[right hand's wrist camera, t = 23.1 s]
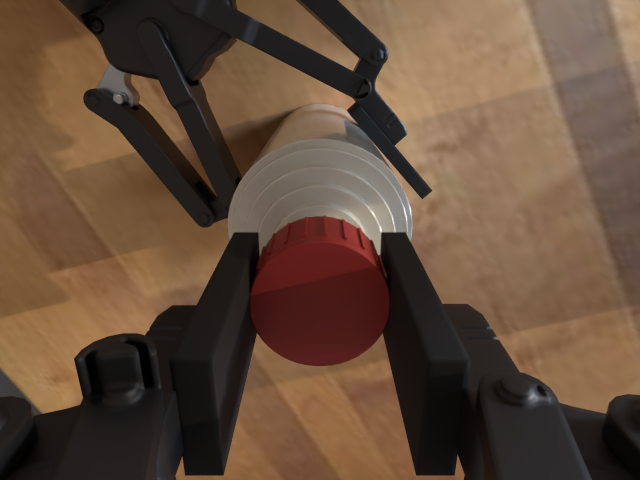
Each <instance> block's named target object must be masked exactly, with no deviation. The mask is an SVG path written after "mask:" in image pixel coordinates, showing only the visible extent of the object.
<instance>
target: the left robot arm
mask: <svg viewBox="0 0 640 480" xmlns="http://www.w3.org/2000/svg"><path fill="white" fill-rule="evenodd" d="M60 1H61V2H62V3H63V4H64V5H65V6H66V7H67V8H68V9H69V10H70V11H71V12H72V13H73V14H74V15H75V16H76V17H77V18H78V19H79V21H80V22H81V23H82V24H83V25H85V26H86V27H87V28H88V29H89V30H90V31H91V32H92V33H93V34H94V35H95V36H96V38H97V39H98V40H99V42H100V44H101V46H102V48H103V50H104V53H105V56H106V58H107V60H108V61H109V65H108V67H107V69H106V71H105V73H104V75H103V77H102V79H101V81H100V82H99V84H98V86H97V88H96V89H90V90H87V91H86V92H85V94H84V97H83V99H84V103H85V105H86V107H87V108H88V109H89V110H91V111H92V112H94V113H95V114H97V115H99V116H100V117H102V118H103V119H105V120H106V121H108V122H109V123H111V124H112V125H114V126H115V127H117V128H118V129H119V130H120V132H121V133H122V134H123V135H124V136H125V138H126V139H127V140H128V141H129V142H130V144H131V145H132V146H133V147H134V149H135V150H136V151H137V152H138V153H139V155H140V156H141V157H142V158H143V159H144V161H145V162H146V163H147V164H148V165H149V167H150V168H151V169H152V170H153V171H154V173H155V174H156V175H157V176H158V177H159V179H160V180H161V181H162V182H163V183H164V185H165V186H166V187H167V188H168V189H169V191H170V192H171V193H172V194H173V195H174V197H175V198H176V199H177V200H178V201H179V203H180V204H181V205H182V206H183V207H184V209H185V210H186V211H187V212H188V214H189V215H190V216H191V217H192V218H193V220H194V221H195V222H196V223H197V224H198V225H199V226H201V227H209V226H211V225H212V224H213V223H215V222H217V221H220V220H222V219H225V218H228V214H229V208H230V204H231V201H232V198H233V195H234V193H235V191H236V189H237V187H238V185H239V183H240V181H241V180H242V177H241V175H240V173H239V171H238V168H237V166H236V164H235V162H234V160H233V157H232V155H231V153H230V151H229V148H228V146H227V144H226V142H225V140H224V137H223V135H222V133H221V131H220V128H219V126H218V124H217V122H216V120H215V117H214V115H213V113H212V111H211V109H210V106H209V104H208V102H207V99H206V93H205V91H204V88H203V86H202V84H201V81H200V79H201V78H202V77H203V76H204V75H205V74H206V73H207V72H208V71H209V69H210V67H211V65H212V63H213V61H214V60H215V58H216V57H217V56H219V55H221V54H222V53H224V52H226V51H228V50H229V48H230V47H231V46H232V45H233V44H234V43H235V42H236V41H237V40H236V38H237V39H239V40H241V41H243V42H245V43H248V44H250V45H252V46H254V47H255V48H257V49H259V50H261V51H263V52H265V53H267V54H269V55H271V56H273V57H275V58H277V59H279V60H281V61H283V62H284V63H286V64H288V65H290V66H292V67H294V68H296V69H298V70H300V71H302V72H304V73H306V74H308V75H310V76H312V77H314V78H315V79H317V80H319V81H321V82H323V83H325V84H327V85H329V86H331V87H333V88H335V89H337V90H339V91H341V92H343V93H344V94H346V95H348V96H350V97H352V98H353V99H354V100H355V103H354V104H353V105H352V106H351V107H350V108H349V109H348V110H347V111H348V113H349V115H350V116H351V117H352V118H353V119H354V120H355V122H356V123H357V124H358V125H359V126H360V127H361V129H362V130H363V131H364V132H365V133H366V134H367V135H368V137H369V138H370V139H371V140H372V141H373V142H374V144H375V145H376V146H377V147H378V148H379V149H380V151H381V152H382V153H383V154H384V155H385V156H386V158H387V159H388V160H389V161H390V162H391V163H392V165H393V166H394V167H395V168H396V169H397V170H398V171H399V173H400V174H401V175H402V176H403V177H404V178H405V180H406V181H407V182H408V183H409V184H410V185H411V187H412V188H413V189H414V190H415V191H416V192H417V194H418V195H419V196H420V197H421V198H422V199H423V198H424V197H425V196H427V195H428V194H429V193H430V192H431V191H432V190H431V188H430V187H429V186H428V185H427V184H426V182H425V181H424V180H423V179H422V178H421V177H420V175H419V174H418V173H417V172H416V171H415V170H414V168H413V167H412V166H411V165H410V164H409V162H408V161H407V160H406V159H405V158H404V157H403V155H402V154H401V153H400V152H399V151H398V149H397V148H396V147H395V145H396V144H397V143H398V142H399V141H400V140H401V139H403V138H404V137H405V136H406V135H407V132H406V129H405V125H404V124H403V123H402V122H401V121H400V119H399V118H398V117H397V116H396V115H395V113H394V112H393V111H392V110H391V108H390V107H389V106H388V105H387V104H386V102H385V101H384V100H383V99H382V98H381V96H380V95H379V94H378V92H377V91H376V88H375V80H376V78H377V75H378V74H379V72H380V70H381V68H382V66H383V64H384V63H385V62H386V60H387V59H388V49H387V48H386V46H385V45H384V44H383V43H382V42H381V41H380V40H379V39H378V38H377V37H376V36H375V35H374V34H373V33H371V32H370V31H369V30H368V29H367V28H366V27H365V26H364V25H363V24H362V23H361V22H360V21H359V20H358V19H357V18H356V17H355V16H353V15H352V14H351V13H350V12H349V11H348V10H347V9H346V8H345V7H344V6H343V5H342V4H341V3H340V2H339V1H338V0H296V1H297V2H298V3H299V4H301V5H302V6H303V7H304V8H305V9H306V10H307V11H308V12H309V13H310V14H311V15H313V16H314V17H315V18H316V19H317V20H318V21H319V22H320V23H321V24H322V25H323V26H324V27H326V28H327V29H328V30H329V31H330V32H331V33H332V34H333V35H334V36H335V37H336V38H338V39H339V40H340V41H341V42H342V43H343V44H344V45H345V46H346V47H347V48H348V49H349V50H351V51H352V52H353V53H354V54H355V55H356V56H357V57H358V58H359V61H358V63H357V64H356V66H355V68H354V70H353V71H351V70H349V69H347V68H345V67H344V66H342V65H340V64H338V63H336V62H334V61H332V60H330V59H328V58H326V57H325V56H323V55H321V54H319V53H317V52H315V51H313V50H311V49H309V48H307V47H306V46H304V45H302V44H300V43H298V42H296V41H294V40H292V39H290V38H289V37H287V36H285V35H283V34H281V33H279V32H277V31H275V30H273V29H271V28H270V27H268V26H266V25H264V24H262V23H260V22H258V21H256V20H255V19H253V18H251V17H249V16H247V15H245V14H243V13H242V12H240V11H238V10H237V6H236V0H60ZM132 74H133V75H138V76H143V77H147V78H152V79H157V80H159V81H160V84H161V86H162V88H163V90H164V92H165V94H166V96H167V98H168V100H169V102H170V104H171V105H172V107H174V108H175V109H176V111H177V113H178V115H179V117H180V119H181V121H182V123H183V125H184V127H185V129H186V131H187V133H188V136H189V138H190V140H191V142H192V144H193V146H194V148H195V150H196V152H197V154H198V157H199V159H200V161H201V163H202V165H203V167H204V169H205V171H206V173H207V175H208V177H209V180H210V182H211V184H212V186H213V188H214V190H215V192H216V194H217V197H216V195H215V194H214V193H213V191H212V190H211V189H210V188H209V186H208V185H207V184H206V183H205V181H204V180H203V179H202V178H201V176H200V175H199V174H198V173H197V171H196V170H195V169H194V168H193V166H192V165H191V164H190V163H189V161H188V160H187V159H186V158H185V156H184V155H183V154H182V153H181V151H180V150H179V149H178V148H177V146H176V145H175V144H174V143H173V141H172V140H171V139H170V137H169V136H168V135H167V134H166V132H165V131H164V130H163V129H162V127H161V126H160V125H159V124H158V122H157V121H156V120H155V119H154V117H153V116H152V115H151V114H150V113H149V112H148V111H147V110H146V109H145V108H144V107H143V106H142V105H140V104H139V101H140V96H139V93H138V91H137V90H136V89H135V88H134V87H133V85H132V84H131V75H132Z"/></svg>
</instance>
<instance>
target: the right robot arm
mask: <svg viewBox="0 0 640 480" xmlns="http://www.w3.org/2000/svg"><path fill="white" fill-rule="evenodd" d="M380 255H381V258H382V262H383V265H384V268H385V271H386V274H387V277H388V279H387V280H386V281H387V285H388V288H389V293H390V304H389V318H388V322H387V324H386V327H385V329H384V331H383V336H384V340H385V344H386V349H387V353H388V357H389V361H390V366H391V370H392V374H393V378H394V383H395V387H396V391H397V396H398V400H399V404H400V408H401V413H402V417H403V421H404V425H405V430H406V434H407V438H408V443H409V447H410V451H411V455H412V460H413V464H414V468H415V472H416V475H455V468H456V461H457V454H458V457H459V459H460V462H461V465H462V468H463V471H464V473H465V477H464V480H640V395H631V394H627V395H622V396H617V397H615V398H614V399H613V400H612V401H611V402H610V403H609V406H608V410H607V413H606V414H604V413H600V412H595V411H590V410H586V409H581V408H576V407H572V406H568V405H565V404H561V403H559V401H558V399H557V397H556V396H555V394H554V393H553V392H552V390H551V389H550V388H549V387H548V386H547V385H545V384H544V383H543V382H541V381H540V380H539V379H536V378H534V377H532V376H530V375H527V374H525V373H521V372H519V370H518V369H517V367H516V365H515V364H514V362H513V361H512V359H511V358H510V356H509V355H508V353H507V352H506V350H505V349H504V347H503V345H502V344H501V342H500V341H499V340H497V336H496V335H495V333H494V332H493V330H492V329H490V326H489V324H488V322H487V321H486V319H485V318H484V316H483V315H482V314H481V313H479V312H478V311H477V310H475V309H474V308H472V307H471V306H469V305H468V304H442V303H441V301H440V299H439V297H438V295H437V293H436V291H435V289H434V287H433V285H432V283H431V281H430V279H429V277H428V275H427V273H426V271H425V269H424V267H423V265H422V263H421V261H420V260H419V258H418V256H417V254H416V252H415V250H414V248H413V246H412V244H411V242H410V240H409V238H408V236H407V234H406V232H381V247H380ZM259 257H260V253H259V233H258V232H234V233H233V235H232V237H231V239H230V241H229V243H228V245H227V247H226V249H225V251H224V253H223V255H222V257H221V259H220V261H219V263H218V265H217V267H216V269H215V271H214V273H213V275H212V276H211V278H210V280H209V282H208V284H207V286H206V288H205V290H204V292H203V294H202V296H201V298H200V300H199V302H198V304H197V305H173V306H171V307H170V308H168V309H167V310H165V311H164V312H163V313H161V314H160V315H158V316H157V318H156V319H155V321H154V322H153V324H152V325H151V327H150V330H149V331H148V332H147V333H146V335H145V336H144V335H141V334H118V335H113V336H108V337H106V338H103V339H100V340H98V341H95V342H93V343H91V344H90V345H88V346H87V347H85V348H84V349H82V350H81V351H80V352H79V354H78V355H77V356H76V357H75V358H74V361H75V365H76V369H77V373H78V378H79V382H80V386H81V391H82V395H83V400H82V402H81V405H78V406H75V407H71V408H68V409H63V410H59V411H54V412H50V413H45V414H40V415H36V416H34V415H33V411H32V407H31V405H30V404H29V403H28V402H27V401H26V400H25V399H23V398H18V397H13V396H10V397H0V480H176V477H175V475H176V472H177V469H178V466H179V464H180V461H181V458H182V456H183V463H184V470H185V475H224V471H225V467H226V463H227V458H228V454H229V450H230V445H231V441H232V437H233V433H234V428H235V424H236V420H237V416H238V411H239V407H240V403H241V399H242V394H243V390H244V386H245V381H246V377H247V373H248V369H249V364H250V360H251V356H252V352H253V347H254V343H255V339H256V334H257V331H256V329H255V327H254V325H253V322H252V319H251V309H250V291H251V287H252V282H253V279H254V276H255V273H256V267H257V264H258V261H259Z"/></svg>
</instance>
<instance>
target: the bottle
mask: <svg viewBox="0 0 640 480" xmlns="http://www.w3.org/2000/svg"><path fill="white" fill-rule="evenodd" d="M324 215H326V217H333V218H337V219H341V220H342V219H344V220H345V221H346V222H348V223H350V224H352V225H354V226H356V227H357V228H361V231H362V232H363V233H364V234H365V235H366V236H367V237H368V238H369V239H370V240H373V242H374V246H375V248H376V250H377V253H378V255H380V247H381V232H406V234H407V236H408V238H409V240H410V242H411V237H412V214H411V209H410V205H409V201H408V198H407V196H406V193H405V191H404V189H403V187H402V185H401V183H400V181H399V180H398V178H397V177H396V175H395V174H394V172H393V171H392V170H391V168H390V167H389V165H388V164H387V162H386V161H385V159H384V158H383V156H382V155H381V153H380V152H379V151H378V149H377V148H376V146H375V145H374V143H373V142H372V140H371V139H370V138H369V137H368V135H367V134H366V133H365V132H364V131H363V130H362V129H361V127H360V126H359V125H358V124H357V123H356V122H355V120H354V119H353V118H352V117H351V116H350V115H349V113H348V112H347V111H345V110H343V109H342V108H339V107H337V106H333V105H330V104H311V105H307V106H303V107H301V108H299V109H296V110H295V111H293V112H292V113H290V114H289V115H288V116H287V117H285V118H284V120H283V121H282V122H281V123H280V124H279V126H278V127H277V129H276V130H275V132H274V133H273V135H272V136H271V137H270V139H269V140H268V142H267V143H266V145H265V146H264V148H263V149H262V151H261V152H260V154H259V155H258V156H257V158H256V159H255V161H254V162H253V164H252V165H251V167H250V168H249V170H248V171H247V173H246V174H245V175H244V177H243V178H242V180H241V181H240V183H239V185H238V187H237V189H236V191H235V193H234V195H233V198H232V201H231V204H230V208H229V214H228V227H227V229H228V239H229V241H230V239H231V237H232V235H233V233H234V232H258V233H259V253H260V254H261V251H262V248H263V246H264V247H265V246H266V245H267V243H268V241H269V240H270V239H271V238H272V235H273V233H277V232H278V231H279V230H280V229H282V228H283V227H284V226H286V225H287V223H289V222H290V223H291V222H294V221H296V220H299V219H303V218H305V217H314V216H324Z"/></svg>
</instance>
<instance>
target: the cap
mask: <svg viewBox="0 0 640 480" xmlns="http://www.w3.org/2000/svg"><path fill="white" fill-rule="evenodd" d="M387 279H388V277H387V274H386V271H385V268H384V265H383V262H382V258H381V255H378V253H377V250H376V248H375V246H374V242H373V240H370V239H369V238H368V237H367V236H366V235H365V234H364V233H363V232H362V231H361V228H357V227H356V226H354V225H352V224H350V223H348V222H346V221H345V220H344V219H342V220H341V219H337V218H333V217H326V215H324V216H314V217H305V218H303V219H299V220H296V221H294V222H291V223H290V222H289V223H287V225H286V226H284V227H283V228H282V229H280V230H279V231H278V232H277V233H273V235H272V238H271V239H270V240H269V241H268V243H267V245H266V246H265V247H264V246H263V248H262V251H261V254H260V257H259V261H258V264H257V267H256V273H255V276H254V279H253V282H252V287H251V291H250V309H251V319H252V322H253V325H254V327H255V329H256V331H257V333H258V334H259V336H260V337H261V339H262V340H263V341H264V342H265V343H266V344H267V345H268V347H270V348H271V349H272V350H273V351H274V352H276V353H278V354H279V355H281V356H282V357H284V358H286V359H288V360H291V361H294V362H296V363H300V364H304V365H311V366H329V365H335V364H340V363H343V362H346V361H349V360H351V359H353V358H356V357H357V356H359V355H361V354H362V353H364V352H365V351H366V350H368V349H369V348H370V347H371V346H372V345H373V344H374V343H375V342H376V341H377V340H378V338H379V337H380V336H381V334H382V332H383V331H384V329H385V327H386V324H387V322H388V318H389V304H390V293H389V288H388V285H387V281H386V280H387Z"/></svg>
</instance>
